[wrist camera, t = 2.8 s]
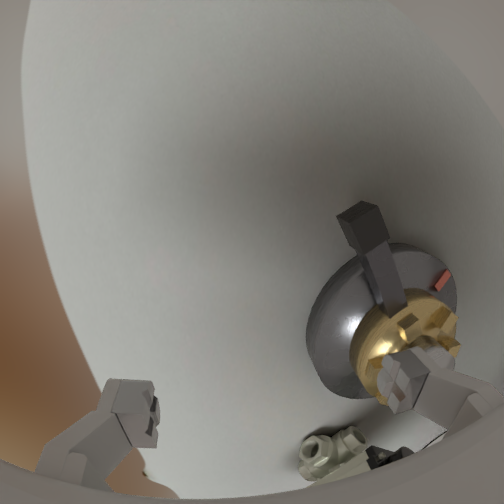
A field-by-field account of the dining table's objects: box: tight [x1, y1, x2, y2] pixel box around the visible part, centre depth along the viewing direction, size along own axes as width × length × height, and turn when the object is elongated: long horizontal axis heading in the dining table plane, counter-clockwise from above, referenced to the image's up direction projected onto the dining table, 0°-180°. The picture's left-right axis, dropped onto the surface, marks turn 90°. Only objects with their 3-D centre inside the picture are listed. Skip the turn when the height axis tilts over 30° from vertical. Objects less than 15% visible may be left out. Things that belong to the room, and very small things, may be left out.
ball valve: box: [298, 426, 414, 488], centre depth 24 cm, size 18×8×18 cm, turn 139°
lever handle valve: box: [336, 201, 461, 406], centre depth 20 cm, size 18×10×4 cm, turn 30°
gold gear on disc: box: [306, 243, 457, 399], centre depth 22 cm, size 16×16×10 cm
